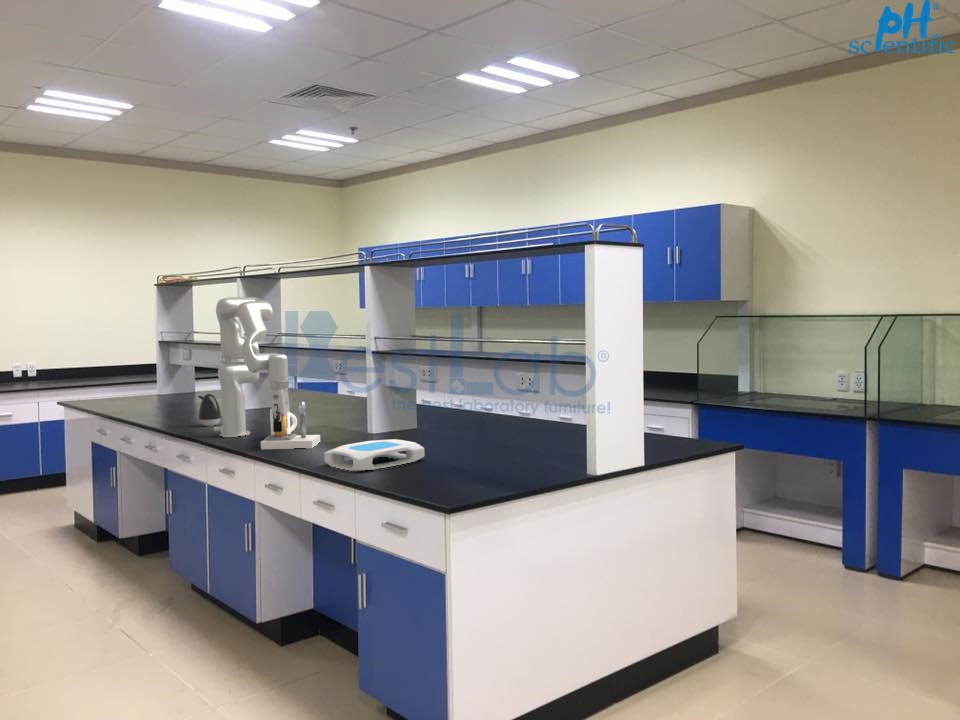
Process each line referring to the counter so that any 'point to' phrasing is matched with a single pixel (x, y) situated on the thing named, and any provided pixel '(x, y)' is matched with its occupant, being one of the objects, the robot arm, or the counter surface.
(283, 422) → the plug
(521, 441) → the counter surface
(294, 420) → the mug
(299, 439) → the socket block
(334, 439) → the counter surface
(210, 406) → the pump dispenser
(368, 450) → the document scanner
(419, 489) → the counter surface
